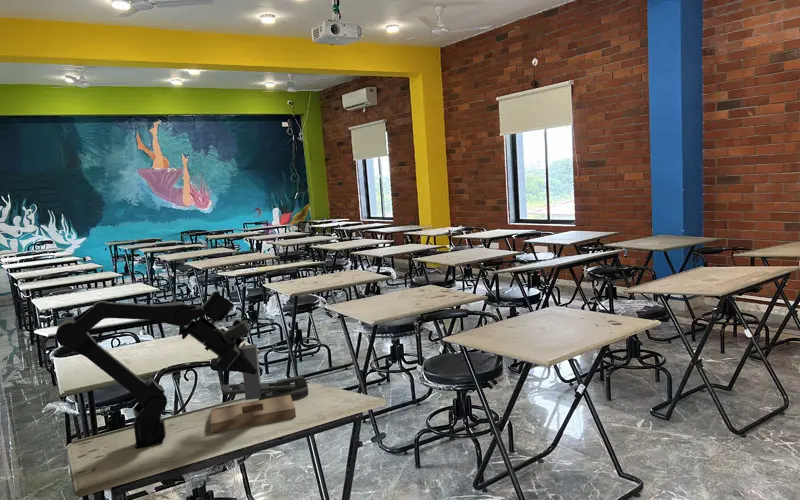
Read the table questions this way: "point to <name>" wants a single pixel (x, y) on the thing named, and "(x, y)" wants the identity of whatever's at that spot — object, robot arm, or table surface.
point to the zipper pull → (275, 388)
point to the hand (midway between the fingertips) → (256, 370)
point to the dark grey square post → (251, 380)
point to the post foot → (252, 413)
